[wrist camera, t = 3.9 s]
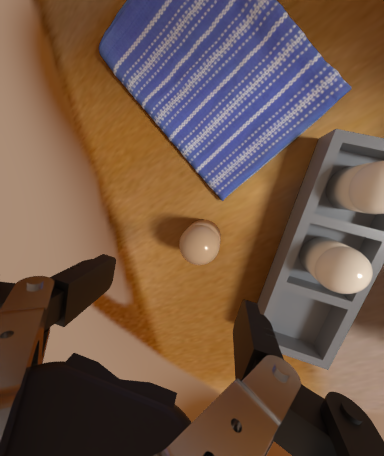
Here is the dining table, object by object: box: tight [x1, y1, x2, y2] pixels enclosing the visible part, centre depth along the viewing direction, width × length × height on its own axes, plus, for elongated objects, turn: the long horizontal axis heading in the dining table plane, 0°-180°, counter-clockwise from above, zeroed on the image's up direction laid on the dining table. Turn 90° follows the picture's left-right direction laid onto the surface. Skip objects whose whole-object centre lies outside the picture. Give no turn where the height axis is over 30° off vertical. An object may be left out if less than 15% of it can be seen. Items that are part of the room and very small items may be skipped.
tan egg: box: [179, 220, 221, 265], centre depth 23 cm, size 5×5×6 cm
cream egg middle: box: [300, 237, 373, 294], centre depth 19 cm, size 5×5×6 cm
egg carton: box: [257, 129, 384, 370], centre depth 22 cm, size 9×25×3 cm, turn 166°
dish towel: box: [99, 0, 351, 201], centre depth 21 cm, size 17×24×3 cm
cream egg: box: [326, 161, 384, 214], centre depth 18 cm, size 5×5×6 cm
